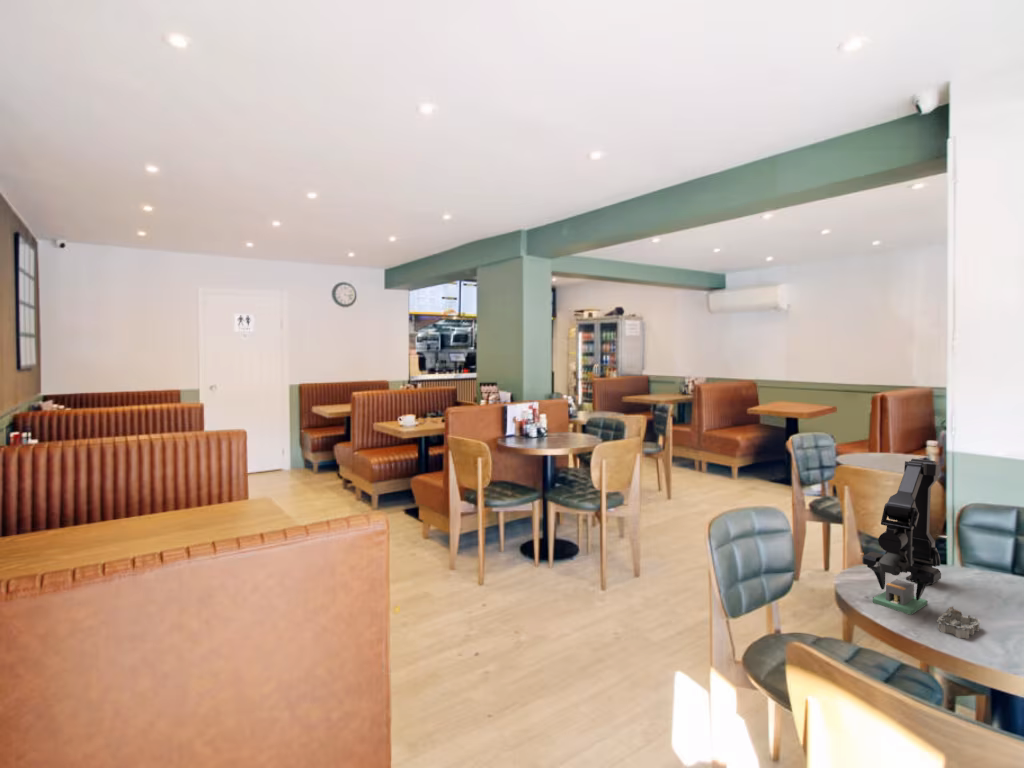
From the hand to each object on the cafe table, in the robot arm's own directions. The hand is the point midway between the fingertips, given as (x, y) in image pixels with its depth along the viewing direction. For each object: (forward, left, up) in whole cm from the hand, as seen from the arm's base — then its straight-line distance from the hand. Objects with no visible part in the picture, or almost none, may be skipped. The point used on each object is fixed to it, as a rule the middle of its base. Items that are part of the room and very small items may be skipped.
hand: (899, 594), depth 166 cm
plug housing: (0, 0, -2) cm, 2 cm away
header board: (0, 0, -3) cm, 3 cm away
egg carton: (+4, +16, -3) cm, 17 cm away
